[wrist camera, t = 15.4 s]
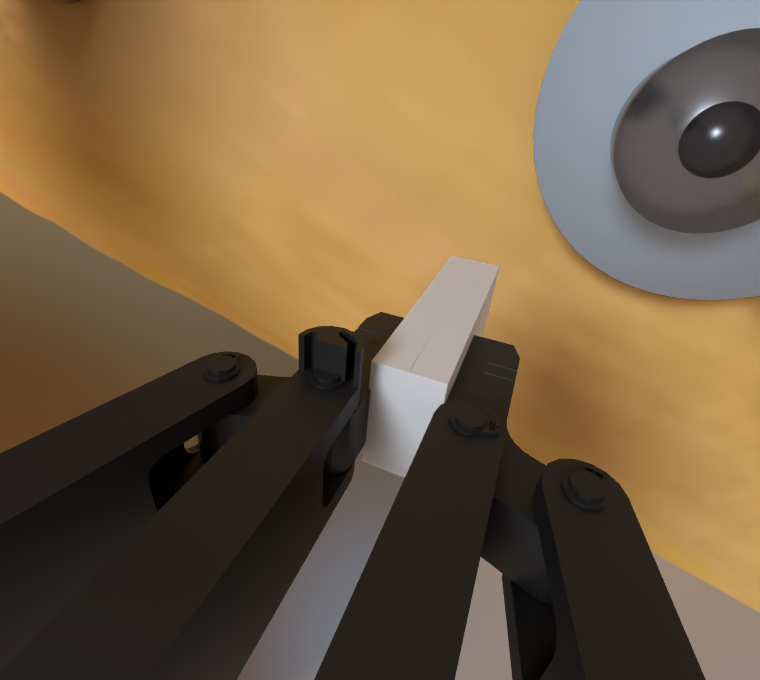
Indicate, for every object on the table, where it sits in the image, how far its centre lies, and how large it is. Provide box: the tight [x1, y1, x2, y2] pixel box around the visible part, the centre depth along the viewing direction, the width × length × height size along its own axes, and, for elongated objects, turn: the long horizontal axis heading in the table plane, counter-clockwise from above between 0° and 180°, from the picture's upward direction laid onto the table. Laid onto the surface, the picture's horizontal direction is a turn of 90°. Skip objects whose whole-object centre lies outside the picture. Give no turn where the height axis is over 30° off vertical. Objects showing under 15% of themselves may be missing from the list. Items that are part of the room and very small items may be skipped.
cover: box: [610, 28, 760, 234], centre depth 21 cm, size 8×8×5 cm
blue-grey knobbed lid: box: [533, 0, 760, 300], centre depth 20 cm, size 20×20×10 cm
